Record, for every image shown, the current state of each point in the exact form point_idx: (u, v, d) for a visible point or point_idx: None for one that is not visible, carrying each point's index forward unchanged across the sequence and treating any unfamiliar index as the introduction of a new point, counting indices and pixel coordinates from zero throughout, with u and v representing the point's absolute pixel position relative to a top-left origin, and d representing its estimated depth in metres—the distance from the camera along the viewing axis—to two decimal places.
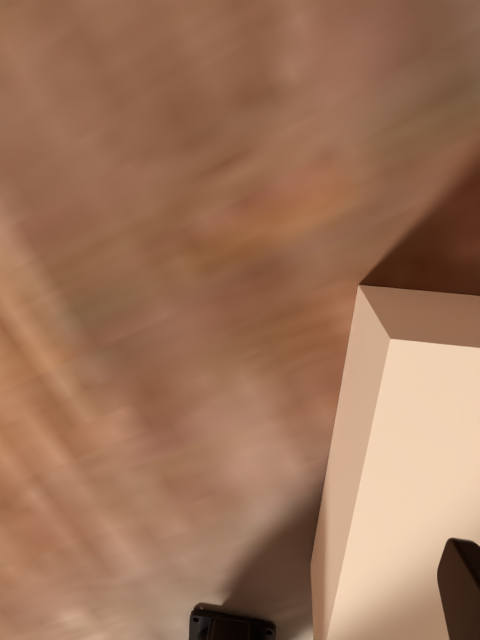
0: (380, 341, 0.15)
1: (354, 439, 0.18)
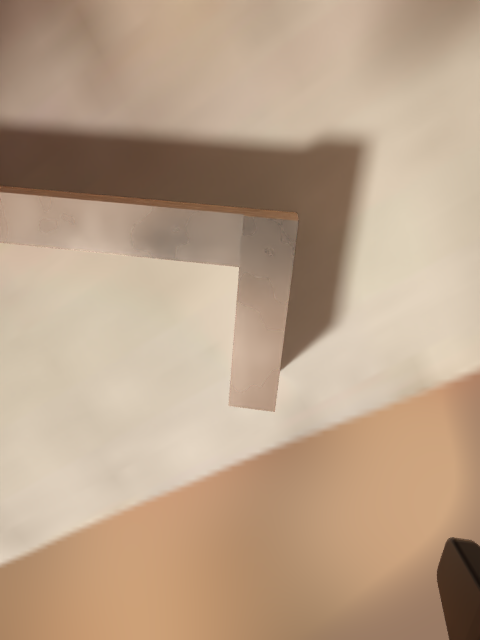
0: None
1: None
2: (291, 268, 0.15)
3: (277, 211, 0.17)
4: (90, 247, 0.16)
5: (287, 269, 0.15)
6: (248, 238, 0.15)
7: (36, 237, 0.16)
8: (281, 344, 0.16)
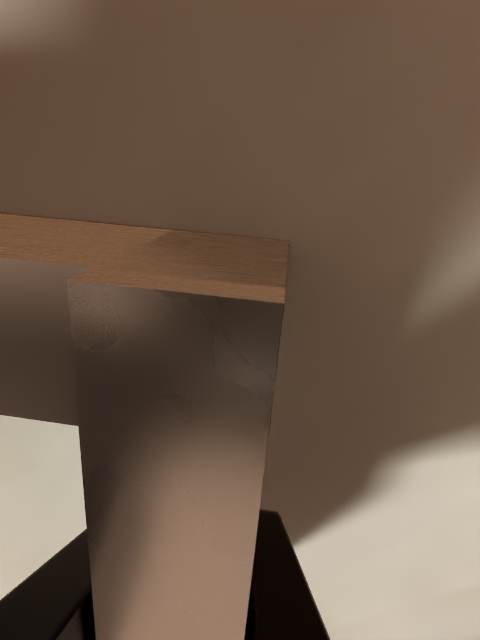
0: None
1: None
2: (260, 462, 0.04)
3: (236, 239, 0.06)
4: None
5: (245, 465, 0.04)
6: (97, 359, 0.04)
7: None
8: None
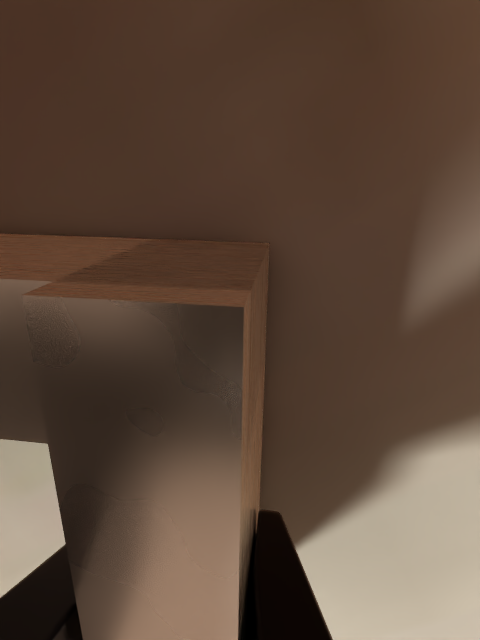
0: None
1: None
2: (236, 474, 0.04)
3: (215, 244, 0.06)
4: None
5: (221, 478, 0.04)
6: (60, 375, 0.04)
7: None
8: None
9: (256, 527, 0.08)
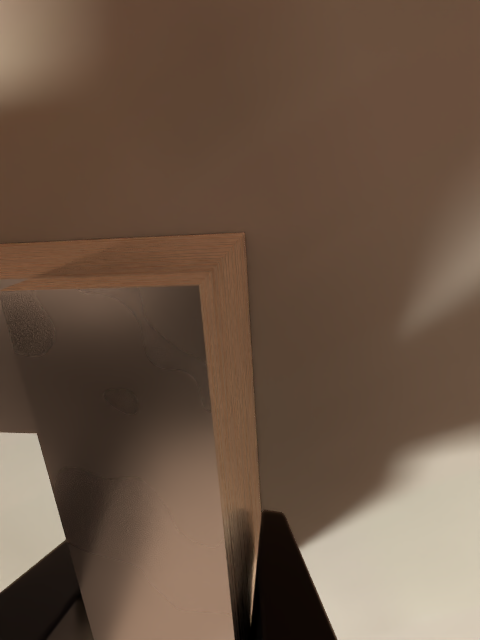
0: None
1: None
2: (211, 445, 0.04)
3: (191, 238, 0.07)
4: None
5: (198, 450, 0.04)
6: (40, 364, 0.04)
7: None
8: None
9: (256, 510, 0.08)
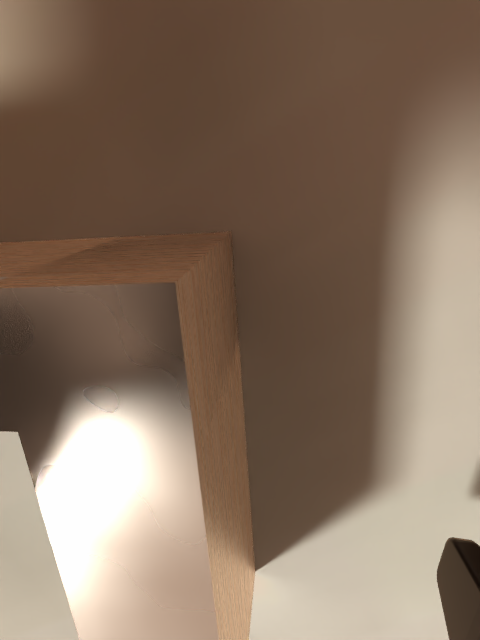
0: None
1: None
2: (191, 443, 0.04)
3: (177, 236, 0.07)
4: None
5: (178, 447, 0.04)
6: (18, 361, 0.04)
7: None
8: None
9: (245, 508, 0.08)
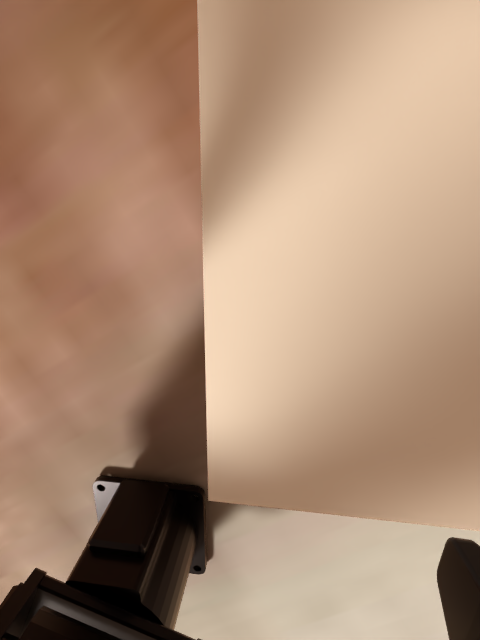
0: None
1: None
2: None
3: None
4: None
5: None
6: None
7: None
8: None
9: None
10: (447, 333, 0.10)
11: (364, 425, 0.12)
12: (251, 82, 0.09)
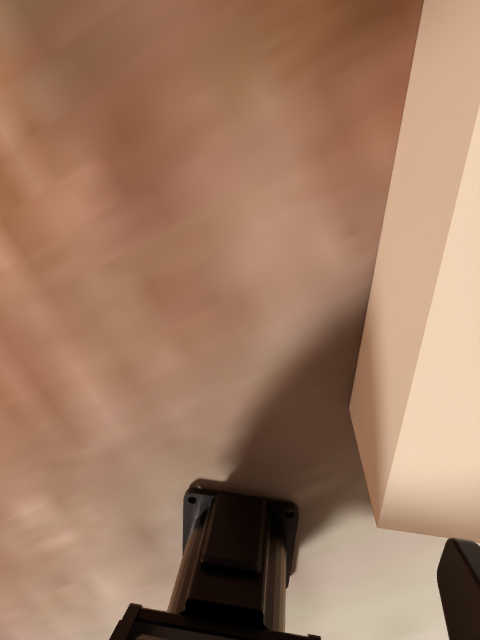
0: None
1: (462, 43, 0.10)
2: None
3: None
4: None
5: None
6: None
7: None
8: None
9: None
10: None
11: None
12: None
